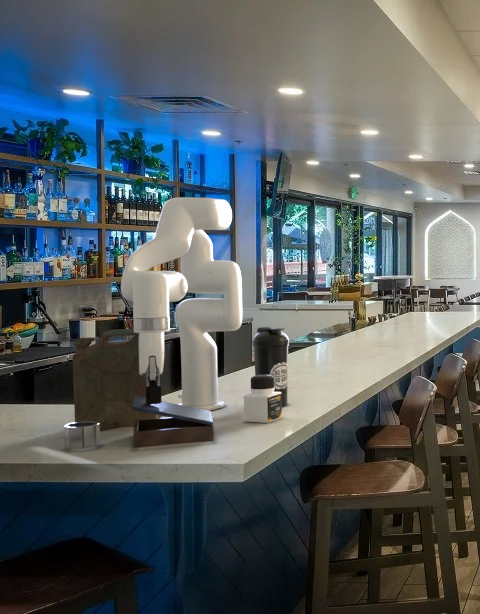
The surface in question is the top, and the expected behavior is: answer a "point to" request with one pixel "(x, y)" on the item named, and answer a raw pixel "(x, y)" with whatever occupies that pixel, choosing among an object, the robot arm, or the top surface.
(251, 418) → the medicine bottle
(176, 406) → the lid
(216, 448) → the top surface
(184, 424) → the brown tray
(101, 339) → the canister
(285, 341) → the water bottle
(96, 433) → the grey octagonal hollow piece
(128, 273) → the robot arm
